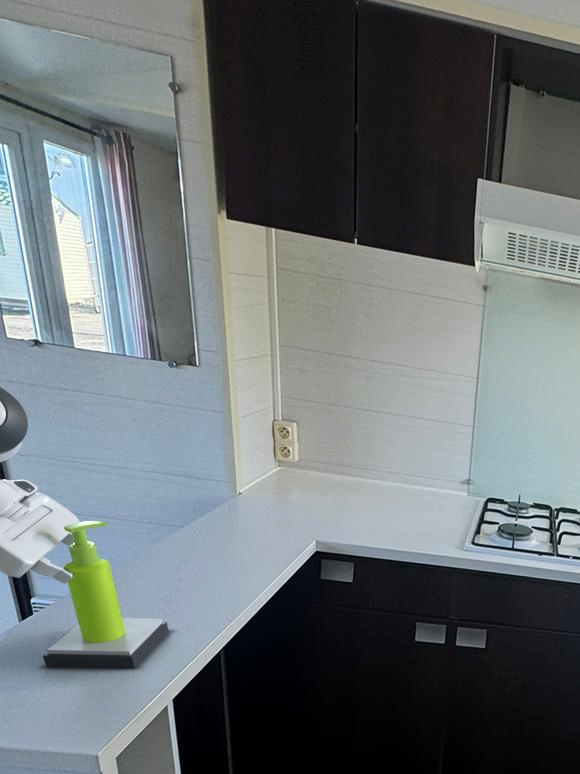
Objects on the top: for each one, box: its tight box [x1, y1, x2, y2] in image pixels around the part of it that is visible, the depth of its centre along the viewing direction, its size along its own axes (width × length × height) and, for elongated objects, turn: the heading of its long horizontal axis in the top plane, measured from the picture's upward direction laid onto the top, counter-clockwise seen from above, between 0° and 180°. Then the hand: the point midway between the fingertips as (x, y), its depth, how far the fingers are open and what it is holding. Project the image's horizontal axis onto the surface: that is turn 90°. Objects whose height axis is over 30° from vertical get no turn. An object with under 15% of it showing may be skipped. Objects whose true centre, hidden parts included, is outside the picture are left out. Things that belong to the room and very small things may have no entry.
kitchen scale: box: [42, 617, 170, 669], centre depth 109 cm, size 13×13×3 cm
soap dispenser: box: [63, 520, 125, 643], centre depth 104 cm, size 6×7×20 cm
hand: (81, 567), depth 103 cm, fingers open, 8 cm apart
